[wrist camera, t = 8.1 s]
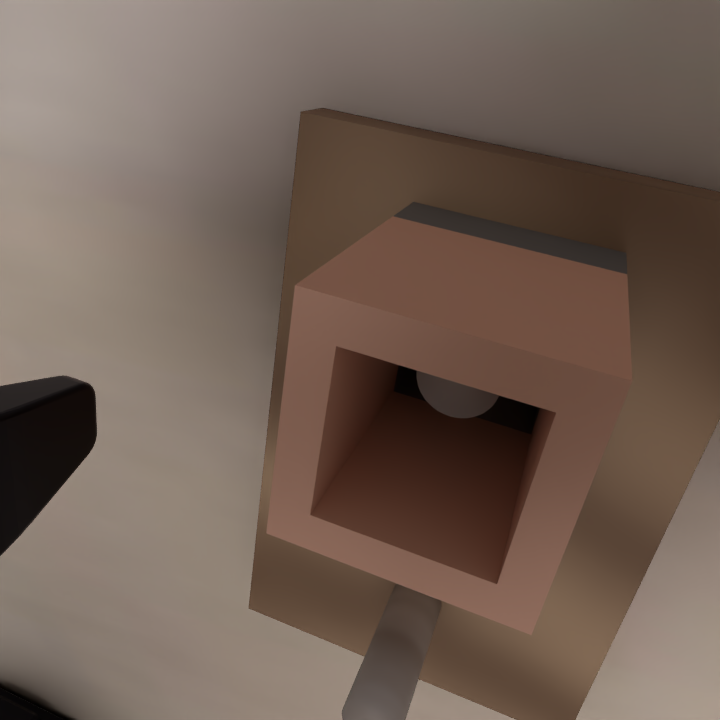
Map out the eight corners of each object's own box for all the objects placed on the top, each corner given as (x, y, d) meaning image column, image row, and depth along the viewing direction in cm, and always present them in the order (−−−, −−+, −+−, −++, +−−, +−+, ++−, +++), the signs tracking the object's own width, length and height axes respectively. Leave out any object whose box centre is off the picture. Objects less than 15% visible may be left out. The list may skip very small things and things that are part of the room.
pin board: (568, 704, 20) (554, 894, 15) (265, 582, 22) (176, 715, 17) (798, 208, 13) (895, 289, 8) (322, 107, 15) (198, 129, 11)
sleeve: (626, 252, 13) (632, 381, 8) (560, 437, 15) (531, 635, 10) (413, 201, 14) (294, 284, 9) (378, 380, 16) (266, 533, 11)
